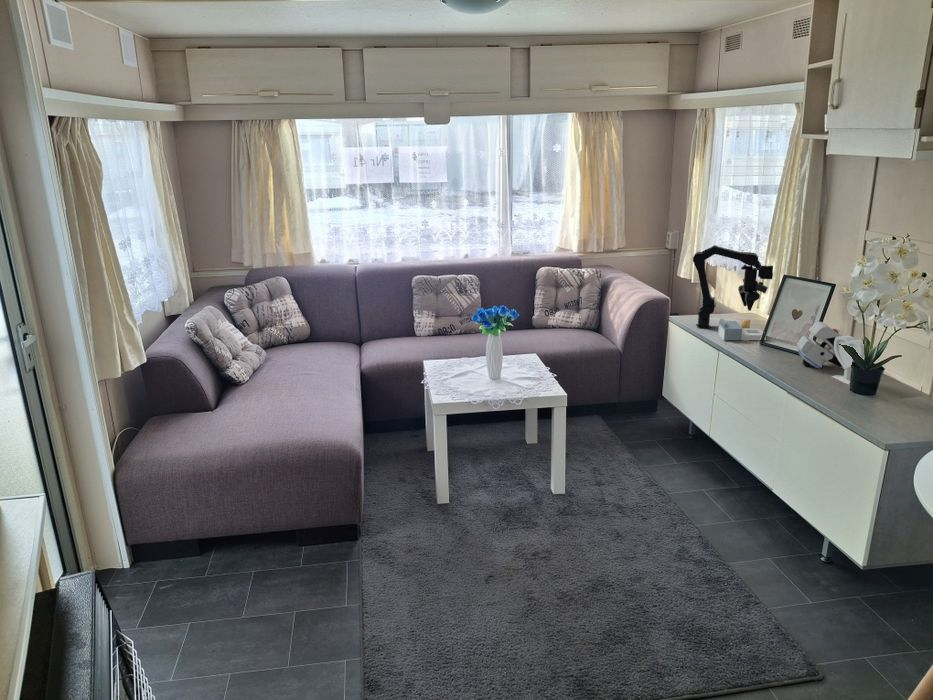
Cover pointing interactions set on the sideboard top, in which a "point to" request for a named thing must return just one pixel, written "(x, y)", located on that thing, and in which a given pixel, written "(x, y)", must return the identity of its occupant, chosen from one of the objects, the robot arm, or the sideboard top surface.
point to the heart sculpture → (847, 355)
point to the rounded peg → (745, 323)
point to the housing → (745, 333)
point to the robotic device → (819, 346)
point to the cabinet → (731, 330)
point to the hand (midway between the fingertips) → (747, 308)
